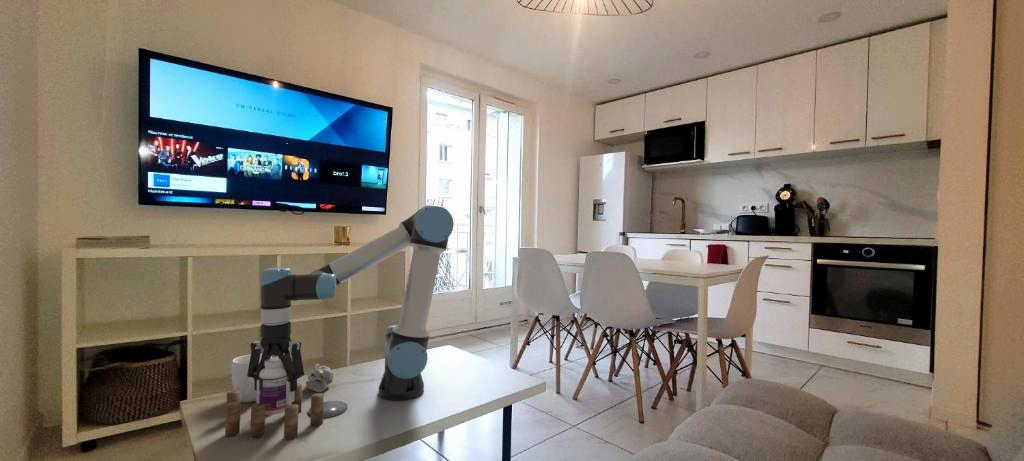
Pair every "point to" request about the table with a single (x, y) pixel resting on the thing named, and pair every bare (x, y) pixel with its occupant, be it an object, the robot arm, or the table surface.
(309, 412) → the coaster
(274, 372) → the pill bottle
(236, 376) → the mug
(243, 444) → the table surface
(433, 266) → the robot arm
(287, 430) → the dowel posts
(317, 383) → the figurine
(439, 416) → the table surface
